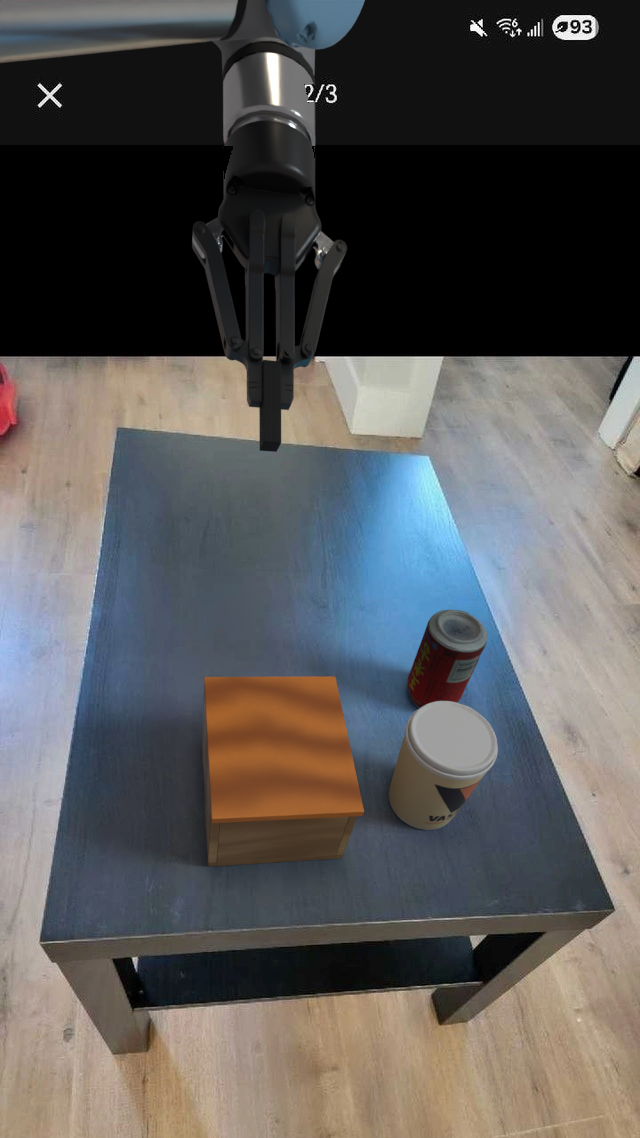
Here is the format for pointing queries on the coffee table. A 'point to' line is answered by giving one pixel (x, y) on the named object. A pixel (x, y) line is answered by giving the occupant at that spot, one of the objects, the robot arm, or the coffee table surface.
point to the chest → (271, 834)
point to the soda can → (446, 657)
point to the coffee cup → (440, 763)
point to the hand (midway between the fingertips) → (270, 446)
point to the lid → (278, 750)
